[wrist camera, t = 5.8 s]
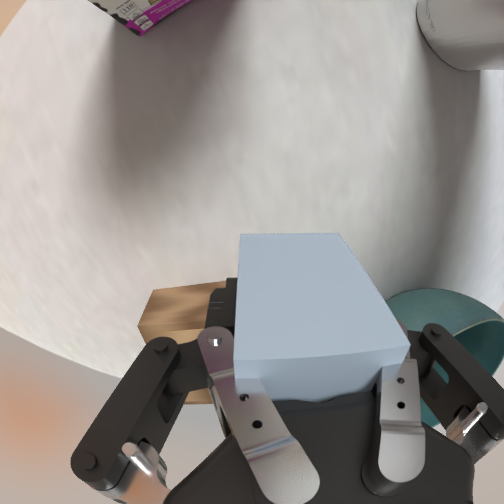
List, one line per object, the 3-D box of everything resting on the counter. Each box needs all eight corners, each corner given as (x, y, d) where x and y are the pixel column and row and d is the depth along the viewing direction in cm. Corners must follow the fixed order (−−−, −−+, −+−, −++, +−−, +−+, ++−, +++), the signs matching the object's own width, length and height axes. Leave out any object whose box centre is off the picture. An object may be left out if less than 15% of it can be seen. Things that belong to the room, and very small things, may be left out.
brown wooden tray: (271, 273, 27) (279, 312, 22) (281, 357, 33) (287, 397, 27) (154, 288, 28) (136, 327, 22) (185, 366, 33) (179, 405, 27)
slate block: (339, 233, 14) (410, 344, 7) (327, 311, 16) (365, 428, 9) (240, 233, 14) (233, 359, 7) (242, 314, 16) (240, 440, 9)
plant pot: (342, 253, 26) (397, 341, 15) (471, 250, 27) (534, 305, 16) (318, 376, 34) (337, 456, 23) (428, 357, 35) (462, 416, 24)
